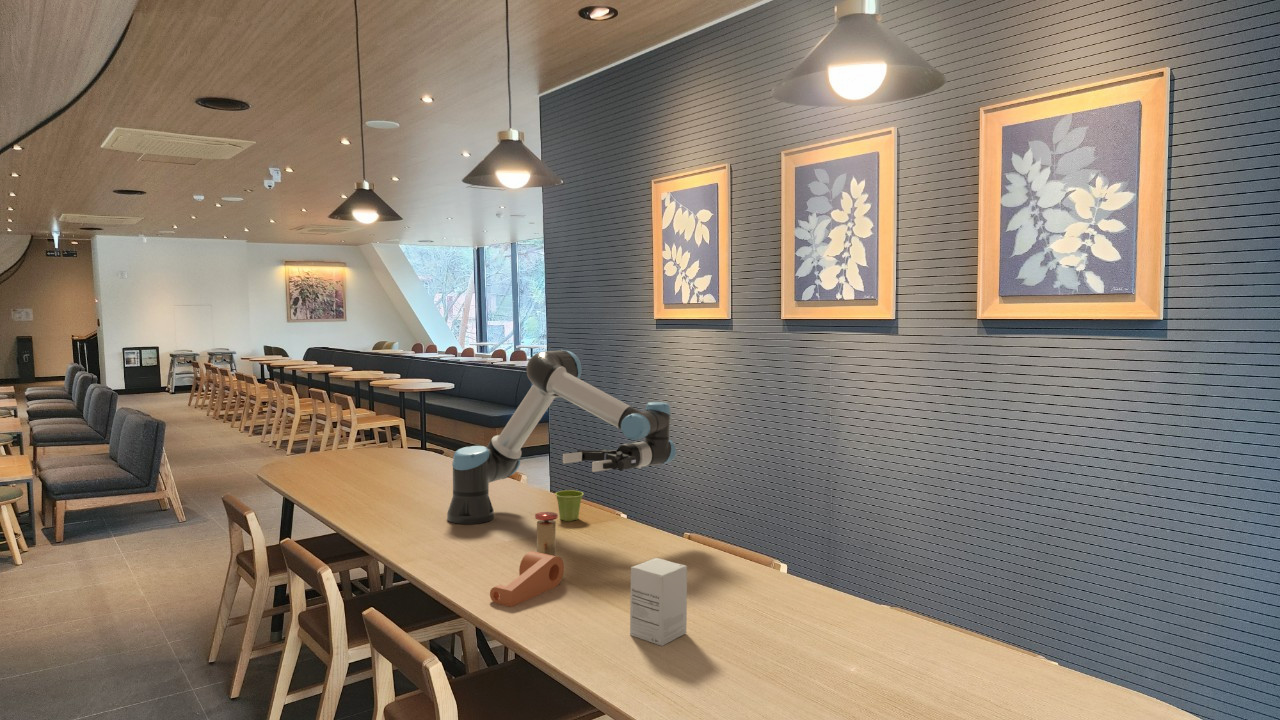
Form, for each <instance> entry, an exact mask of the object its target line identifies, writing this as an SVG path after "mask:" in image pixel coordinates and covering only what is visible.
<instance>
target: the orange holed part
mask: <svg viewBox="0 0 1280 720" xmlns="http://www.w3.org/2000/svg"><path fill="white" fill-rule="evenodd" d="M563 561H564V560H563V559H562V558H561V557H559V556H557V555H555V556H553V555H548V554H543V553H539V552H537V551H534V550H533V551H531V550H530V551H527V553H526V554H524V556H523V557H522V559H521V561H520V564H519V569H518V571H519V572H518V573H519V576H517V577H516V578H515V579H514V580H512V581H511V582H510V583H508V584H507V585H503V584H498V585H496V586H494V587H492V588H491V589H490V592H489V596H490V599H491V601H492V603H496V604H499V605H502V606H506V607H510V608H512V607H515V606H516V605H519V604H522V603H523V602H526V601H528V600H530V599H532V598H534V597H536V596H537V597H538V596H539V595H540V594H543V593H545V592H547V591H550V590H552V589H554V588H556V587H558V586H559V584H560V583H561V582H562V579H563V577H564V571H565V565H564V562H563Z"/></svg>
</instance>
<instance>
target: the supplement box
mask: <svg viewBox="0 0 1280 720" xmlns="http://www.w3.org/2000/svg"><path fill="white" fill-rule="evenodd" d="M687 599H688V566H687V565H685V564H682V563H677V562H673V561H669V560H666V559H663V558H659V557H654V558H652V559H649V560H646V561H644V562H642V563H639V564H636V565H634V566H631V567H630V600H629V601H630V602H629V603H630V604H629V606H630V609H629V610H630V612H629V614H630V615H629V616H630V617H629V619H630V621H629V623H630V624H629V626H630V628H629V629H630V630H629V636H632V637H634V638H638V639H641V640H643V641H646V642H650V643H652V644H655V645H658V646H662V647H663V646H665V645H667V644H669V643H670V642H672V641H675V640H676V639H678V638H680V637H682V636H684V635H686V633H687V618H688V617H687V614H688V613H687V612H688V611H687V609H688V607H687V606H688V605H687V604H688V601H687Z"/></svg>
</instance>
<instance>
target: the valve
mask: <svg viewBox="0 0 1280 720" xmlns="http://www.w3.org/2000/svg"><path fill="white" fill-rule="evenodd" d="M558 514H559V513H556V512H552V511H541V512H537V513H535V514H534V519H535V520H537V521H536V552H539V553H543V554H548V555H553V556H556V527H557V525H556V524H557V523H556V520H557V519H558Z"/></svg>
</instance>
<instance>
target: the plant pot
mask: <svg viewBox="0 0 1280 720" xmlns="http://www.w3.org/2000/svg"><path fill="white" fill-rule="evenodd" d="M554 495H555V496H556V500H557V505H558V514H559V520H562V521H565V522H572V521H578V520H579V514H580V510H581V509H580V508H581V502H582V499H583V496H584V492H582V491H579V490H560V491H557V492H555V494H554Z"/></svg>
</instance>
